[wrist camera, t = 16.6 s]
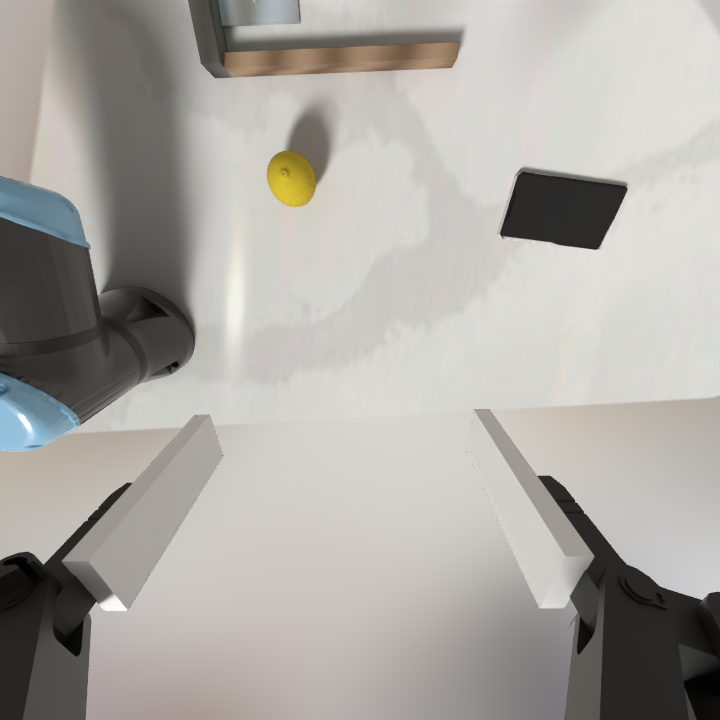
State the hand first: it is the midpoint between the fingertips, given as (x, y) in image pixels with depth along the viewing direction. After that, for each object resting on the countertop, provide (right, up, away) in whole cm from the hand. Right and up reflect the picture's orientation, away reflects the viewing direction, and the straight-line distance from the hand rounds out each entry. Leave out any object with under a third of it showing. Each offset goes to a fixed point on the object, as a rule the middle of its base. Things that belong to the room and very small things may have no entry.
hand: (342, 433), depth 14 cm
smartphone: (+28, +24, +24) cm, 44 cm away
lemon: (-7, +27, +22) cm, 36 cm away
